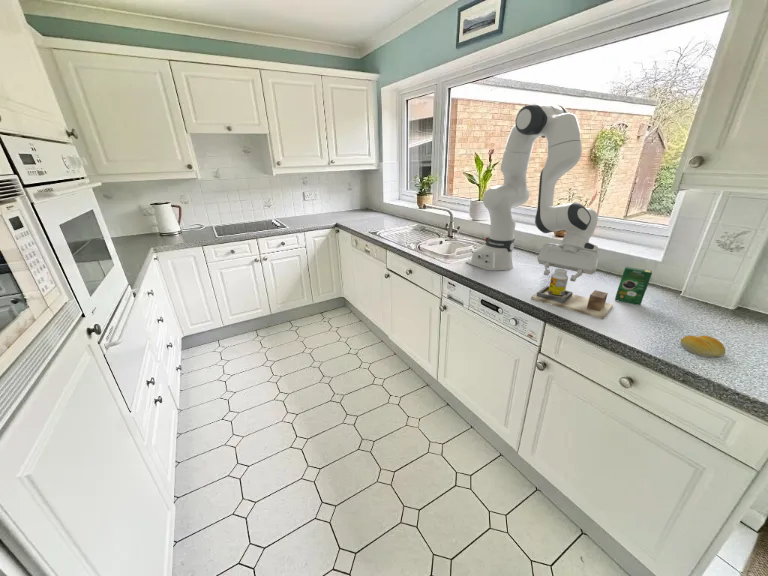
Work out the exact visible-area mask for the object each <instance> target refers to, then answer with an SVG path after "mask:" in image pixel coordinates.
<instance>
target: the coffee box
mask: <svg viewBox="0 0 768 576" xmlns="http://www.w3.org/2000/svg"><path fill="white" fill-rule="evenodd" d="M652 274H653V272H652V270H649V269H648V270H647V269H641V268H638V267H630V266H625V267H624V270H623V273H622V275H621V276H622V277H620V278H621V279H620V281H619V285H618V288H617V291H616V294H615V298H614V301H617V302H620V303H627V304H631V305H636V306H641V305H642V302H643V300H644V296H645V293H646V291H647V288H648V285H649V282H650V279H651V277H652Z"/></svg>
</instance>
